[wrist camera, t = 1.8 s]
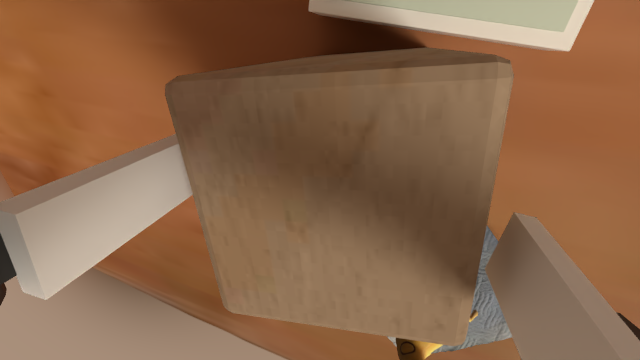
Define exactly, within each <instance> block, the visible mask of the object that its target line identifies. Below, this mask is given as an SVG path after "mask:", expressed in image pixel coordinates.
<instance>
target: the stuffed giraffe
mask: <svg viewBox="0 0 640 360" xmlns="http://www.w3.org/2000/svg"><path fill="white" fill-rule="evenodd" d="M497 244H498V241H497V239H496V238H495V236H494V235H493V234H492V232H491V231H490V229H489V228H488V226H487V227H486V232H485V238H484V243H483V249H482V254H481V260H480V265H479V271H478V276H477V282H476V287H475V293H474V298H473V304H472V309H471V315H470V320H469V326H468V331H467V335H466V339H465V341H464V342H463V344H462V345H457V346H448V345H442V344H435V343H428V342H422V341H415V340H409V339H402V338H395V337H389V336H387V337H388V339H390V340H391V341H392V342H393V343H394V344H395V346H396V347H397V351H398V356H399V359H400V360H425V358H426V357H427V356H429V355H430V354H431V353H438V352H440V351H441V352H446V351H455V350H460V349H463V348H467V347H472V346H474V345H480V344H487V343H490V342H494V341H499V340H504V339H507V338H511V337H512V335H511V333H510V330H509V328H508V325H507V323H506V320H505V318H504V315H503V313H502V311H501V308H500V306H499V303H498V301H497V298H496V296H495V293H494V291H493V288H492V286H491V284H490V281H489V279H488V276H487V274H486V271H485V267H486V265H487V263H488V261H489V260H490V258H491V256H492V254H493V252H494V250H495V248H496V246H497Z"/></svg>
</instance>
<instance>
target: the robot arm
mask: <svg viewBox="0 0 640 360" xmlns="http://www.w3.org/2000/svg"><path fill="white" fill-rule="evenodd" d="M191 195H193V193H192V190H191V186H190V182H189V179H188V175H187V172H186V168H185V164H184V161H183V157H182V154H181V150H180V146H179V143H178V139H177V136H176V134H174V135H172V136H169V137H167V138H164V139H162V140H159V141H156V142H154V143H151V144H149V145H146V146H144V147H141V148H138V149H136V150H133V151H131V152H128V153H126V154H123V155H120V156H118V157H115V158H113V159H110V160H108V161H105V162H102V163H100V164H97V165H95V166H92V167H90V168H87V169H84V170H82V171H79V172H77V173H74V174H72V175H69V176H66V177H64V178H61V179H59V180H56V181H54V182H51V183H48V184H46V185H43V186H41V187H38V188H36V189H33V190H30V191H28V192H25V193H23V194H20V195H18V196H15V197H12V198H10V199H7V200H5V201H2V202H0V305H1V303H2V301H3V299H4V297H5V295H6V287H5V284H4V282H6V281H8V280H9V279H11V278H13V277H14V276H17V278H18V281H19V284H20V286H21V289H22V291H23V292H24V293H27V294H30V295H33V296H36V297H39V298H42V299H45V300H47V299H48V298H50V297H51V296H52V295H54V294H55V293H56V292H58V291H59V290H61V289H62V288H63V287H65V286H66V285H68V284H69V283H70V282H72V281H73V280H74V279H76V278H77V277H78V276H80V275H81V274H83V273H84V272H86V271H87V270H88V269H90V268H91V267H93V266H94V265H95V264H97V263H98V262H100V261H101V260H102V259H104V258H105V257H106V256H108V255H109V254H111V253H112V252H113V251H115V250H116V249H118V248H119V247H120V246H122V245H123V244H125V243H126V242H127V241H129V240H130V239H131V238H133V237H134V236H136V235H137V234H138V233H140V232H141V231H143V230H144V229H145V228H147V227H148V226H150V225H151V224H152V223H154V222H155V221H156V220H158V219H159V218H161V217H162V216H163V215H165V214H166V213H168V212H169V211H170V210H172V209H173V208H175V207H176V206H177V205H179V204H180V203H181V202H183V201H184V200H186V199H187V198H188V197H190V196H191ZM485 271H486V274H487V276H488V279H489V281H490V284H491V286H492V288H493V291H494V293H495V296H496V298H497V301H498V303H499V306H500V308H501V311H502V313H503V315H504V318H505V320H506V323H507V325H508V328H509V330H510V333H511V335H512V338H513V340H514V342H515V345H516V347H517V350H518V352H519V355H520V357H521V360H640V329H639V328H637V327H636V326H635V325H634V324H632V323H631V322H630V321H629V320H628V319H626V318H625V317H624V316H623V315H621V314H620V313H617V312H615V311H614V310H613V308H612V307H611V306H610V305H609V304H608V302H607V301H606V300H605V299H604V298H603V296H602V295H601V294H600V293H599V292H598V291H597V289H596V288H595V287H594V286H593V285H592V283H591V282H590V281H589V280H588V279H587V277H586V276H585V275H584V274H583V273H582V271H581V270H580V269H579V268H578V267H577V265H576V264H575V263H574V262H573V261H572V260H571V258H570V257H569V256H568V255H567V254H566V252H565V251H564V250H563V249H562V248H561V246H560V245H559V244H558V243H557V242H556V240H555V239H554V238H553V237H552V236H551V234H550V233H549V232H548V231H547V230H546V229H545V227H544V226H543V225H542V224H541V223H540V221H539V220H538V219H537V218H536V217H532V216H528V215H524V214H519V213H515V212H514V213H513V215H512V217H511V219H510V221H509V223H508V225H507V227H506V229H505V231H504V232H503V234H502V236H501V238H500V240H499V242H498V244H497V246H496V248H495V250H494V252H493V254H492V256H491V258H490V260H489V261H488V263H487V265H486V267H485Z"/></svg>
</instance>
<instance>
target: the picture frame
mask: <svg viewBox="0 0 640 360" xmlns="http://www.w3.org/2000/svg"><path fill="white" fill-rule="evenodd" d="M593 2H594V0H310V1H309V10H308V11H310V12H312V13H315V14H318V15H321V16H328V17H334V18H341V19H347V20H353V21H360V22H366V23H373V24H379V25H385V26H392V27H398V28H405V29H411V30H418V31H424V32H430V33H437V34H443V35H450V36H456V37H463V38H469V39H475V40H482V41H488V42H495V43H501V44H508V45H514V46H520V47H527V48H533V49H540V50H549V51H570V49H571V47H572V45H573V43H574V41H575V39H576V37H577V35H578V33H579V30H580V28H581V26H582V24H583V22H584V20H585V18H586V16H587V14H588V12H589V10H590V8H591V6H592V4H593Z"/></svg>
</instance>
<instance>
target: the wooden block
mask: <svg viewBox="0 0 640 360" xmlns="http://www.w3.org/2000/svg"><path fill="white" fill-rule="evenodd" d="M513 78H514V74H513V70H512V66H511V62H510V60H508V59H505V58H502V57H499V56H497V55H492V54H482V53H473V52H464V51H454V50H445V49H436V48H427V47H425V48H412V49H398V50H385V51H372V52H359V53H346V54H333V55H320V56H312V57H306V58H299V59H292V60H285V61H278V62H271V63H264V64H257V65H251V66H244V67H237V68H230V69H223V70H216V71H209V72H202V73H196V74H189V75H182V76H177V77H176V78H174V79H173V80H171V81H170V82H168V83H167V84H166V88H165V96H166V100H167V103H168V107H169V110H170V114H171V118H172V121H173V125H174V128H175V132H176V136H177V139H178V143H179V146H180V150H181V154H182V157H183V161H184V164H185V168H186V172H187V175H188V179H189V182H190V186H191V190H192V193H193V197H194V200H195V204H196V208H197V211H198V215H199V218H200V222H201V226H202V229H203V233H204V237H205V240H206V244H207V247H208V251H209V255H210V258H211V262H212V265H213V269H214V273H215V276H216V280H217V283H218V287H219V291H220V294H221V298H222V301H223V305H224V307H225V308H226V309H227V310H228V311H230V312H232V313H237V314H243V315H250V316H257V317H263V318H270V319H276V320H283V321H290V322H296V323H303V324H309V325H316V326H323V327H329V328H336V329H343V330H349V331H356V332H362V333H369V334H376V335H382V336H389V337H395V338H402V339H409V340H415V341H422V342H428V343H435V344H442V345H448V346H457V345H462V344H463V342H464V341H465V339H466V335H467V331H468V326H469V320H470V315H471V309H472V304H473V298H474V293H475V287H476V282H477V276H478V271H479V265H480V260H481V254H482V249H483V243H484V238H485V232H486V227H487V221H488V216H489V210H490V205H491V199H492V194H493V188H494V183H495V177H496V172H497V166H498V161H499V155H500V150H501V144H502V138H503V133H504V127H505V122H506V116H507V111H508V105H509V100H510V94H511V89H512V83H513Z"/></svg>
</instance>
